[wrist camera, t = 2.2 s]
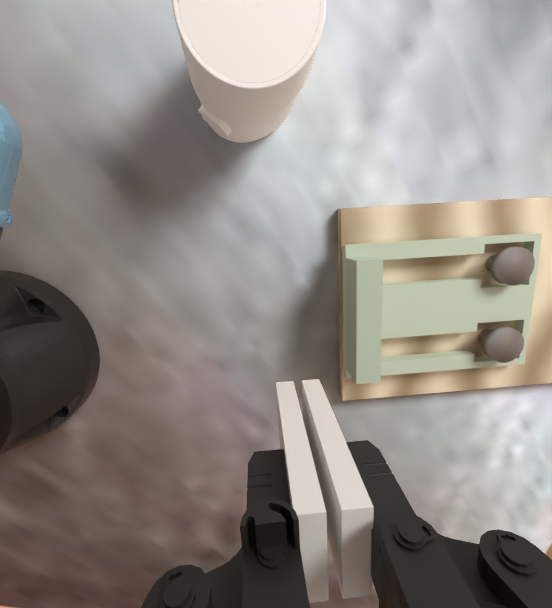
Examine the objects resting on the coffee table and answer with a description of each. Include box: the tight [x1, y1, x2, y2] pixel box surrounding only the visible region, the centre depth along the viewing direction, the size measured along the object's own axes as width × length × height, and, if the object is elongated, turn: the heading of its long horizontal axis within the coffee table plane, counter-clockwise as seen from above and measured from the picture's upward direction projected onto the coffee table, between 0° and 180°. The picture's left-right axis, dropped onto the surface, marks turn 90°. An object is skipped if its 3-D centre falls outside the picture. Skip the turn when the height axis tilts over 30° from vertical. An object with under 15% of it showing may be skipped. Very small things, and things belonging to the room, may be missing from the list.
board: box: [338, 197, 552, 401], centre depth 29 cm, size 28×18×4 cm, turn 93°
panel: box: [342, 233, 542, 384], centre depth 27 cm, size 17×12×4 cm
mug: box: [172, 0, 326, 143], centre depth 21 cm, size 12×9×8 cm
